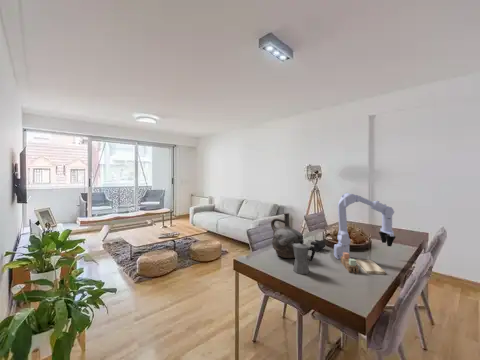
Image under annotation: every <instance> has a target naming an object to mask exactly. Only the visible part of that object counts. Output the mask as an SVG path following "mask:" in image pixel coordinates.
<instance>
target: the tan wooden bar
mask: <svg viewBox="0 0 480 360" xmlns="http://www.w3.org/2000/svg"><path fill="white" fill-rule="evenodd" d="M349 259H352V258H351V256H349ZM349 259H344V258H343V256H341V259H340V263H341V264H342V266H343V267H344V268H345V269H346V271H347V272H348V273H353V274H354V273H355V274H359V265H358V264H356V266H350V264H349Z"/></svg>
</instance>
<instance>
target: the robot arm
mask: <svg viewBox="0 0 480 360" xmlns="http://www.w3.org/2000/svg"><path fill="white" fill-rule="evenodd" d="M354 203H362V204H365V205H367V206H369V207H370V209H372V210H374V211H376V212H379V213H381V227H380V228H379V229H380V230H379V231H378V234H379V236H380V239H381V243H382V244H386V247H392V246H393V243H394V241H395V239H396V236H395V231H394V230H393V215H394V214H395V210H394V208H393V207H391V206H388V205H387V204H386V203H384V204H383V203H382V202H380V200H374V201H372V200H369V199H368V198H365V197H363V196H360V195H357V194H354V193H349V192H345V193H343V194H342V195H341V196H340V199H339V201H338V203H337V217H338V218H337V220H338V231H337V232H338V233H337V237H336V238H337V243H336V244H333V256H334V257H335V258H336V259H337V260H341V256H343V252H346V253H349V254H350V244H351V242H352V240H351V238H350V235H349V232H348V223H347V222H348V219H347V207H349V206H350V205H352V204H354Z"/></svg>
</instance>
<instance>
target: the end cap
mask: <svg viewBox="0 0 480 360" xmlns="http://www.w3.org/2000/svg"><path fill="white" fill-rule="evenodd" d="M310 245H312V246H310V247H313V248H314V250H315V252H319V251H320V250H322V249H325V247H326V242H325V240H322V239H321V240H318V239H315V240H314V241H310Z"/></svg>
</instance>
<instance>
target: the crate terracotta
mask: <svg viewBox="0 0 480 360" xmlns="http://www.w3.org/2000/svg"><path fill="white" fill-rule="evenodd" d="M349 257H350V252H349V253H346V252H343V258H344V259H349Z"/></svg>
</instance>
